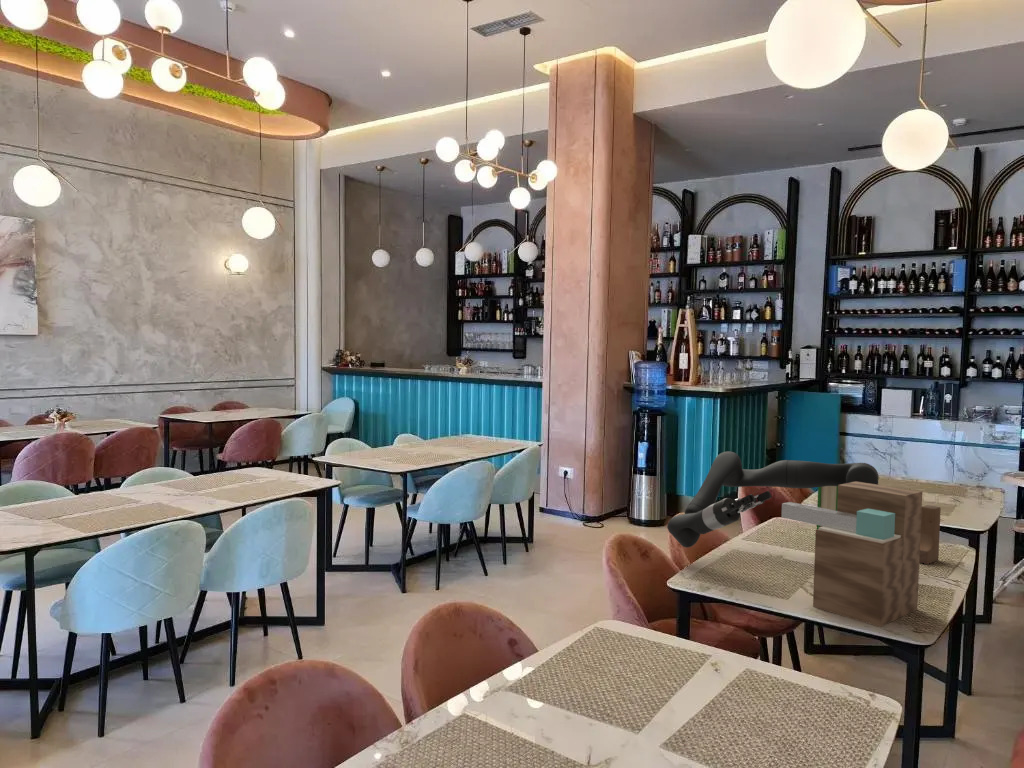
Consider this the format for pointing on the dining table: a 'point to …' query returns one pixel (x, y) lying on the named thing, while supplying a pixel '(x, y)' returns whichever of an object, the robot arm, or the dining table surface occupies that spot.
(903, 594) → the stepped wooden riser
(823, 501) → the hardback book
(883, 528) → the mallet
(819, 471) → the robot arm
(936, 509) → the wooden block
